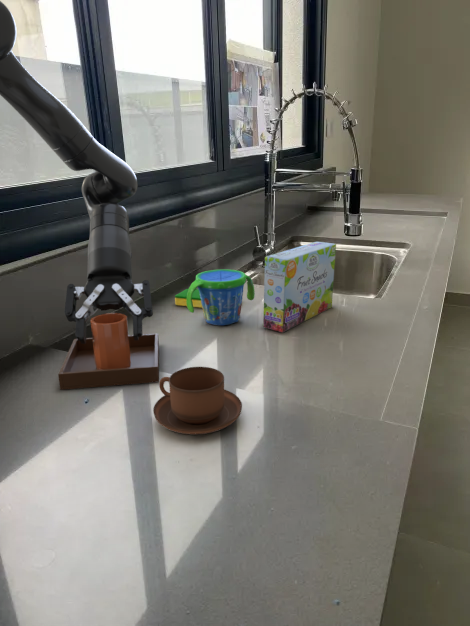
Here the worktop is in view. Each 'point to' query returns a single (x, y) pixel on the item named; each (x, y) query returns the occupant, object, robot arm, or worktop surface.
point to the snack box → (298, 285)
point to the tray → (85, 375)
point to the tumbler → (111, 341)
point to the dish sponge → (182, 298)
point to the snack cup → (221, 295)
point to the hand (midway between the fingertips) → (109, 340)
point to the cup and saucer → (196, 402)
